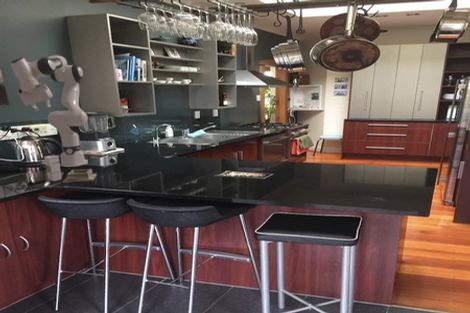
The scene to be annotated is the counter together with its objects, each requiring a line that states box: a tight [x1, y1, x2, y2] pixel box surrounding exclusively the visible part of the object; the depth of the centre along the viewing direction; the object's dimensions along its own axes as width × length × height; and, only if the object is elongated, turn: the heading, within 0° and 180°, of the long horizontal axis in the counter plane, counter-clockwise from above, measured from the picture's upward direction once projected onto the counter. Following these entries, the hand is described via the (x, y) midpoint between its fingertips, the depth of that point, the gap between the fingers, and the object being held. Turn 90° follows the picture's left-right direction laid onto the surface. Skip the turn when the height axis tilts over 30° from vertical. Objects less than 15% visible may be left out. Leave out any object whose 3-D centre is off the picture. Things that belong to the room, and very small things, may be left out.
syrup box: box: [44, 154, 62, 182], centre depth 196 cm, size 6×6×14 cm
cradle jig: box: [62, 168, 98, 184], centre depth 198 cm, size 14×16×4 cm
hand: (43, 109), depth 195 cm, fingers open, 8 cm apart
